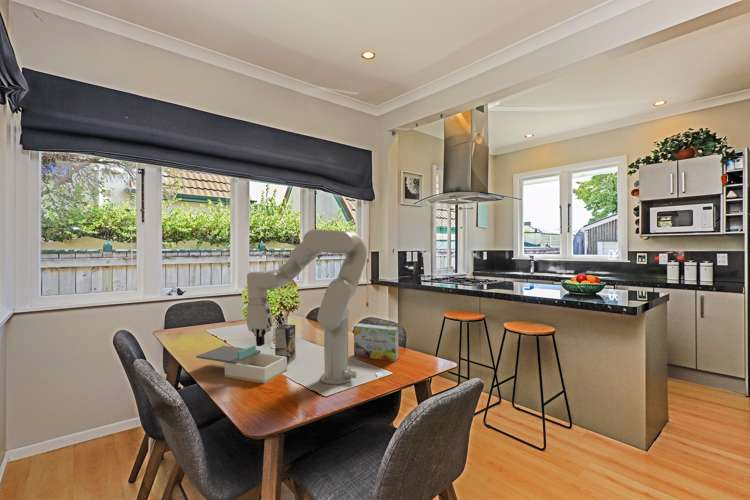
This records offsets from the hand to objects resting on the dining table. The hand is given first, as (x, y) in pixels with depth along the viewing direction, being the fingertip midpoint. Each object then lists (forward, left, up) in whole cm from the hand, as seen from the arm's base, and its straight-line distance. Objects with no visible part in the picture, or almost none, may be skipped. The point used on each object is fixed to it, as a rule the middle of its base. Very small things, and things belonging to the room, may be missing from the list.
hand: (260, 345), depth 158 cm
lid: (+17, 0, -6) cm, 18 cm away
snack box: (-37, -38, -13) cm, 54 cm away
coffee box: (0, -18, -13) cm, 22 cm away
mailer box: (+2, 0, -12) cm, 13 cm away
